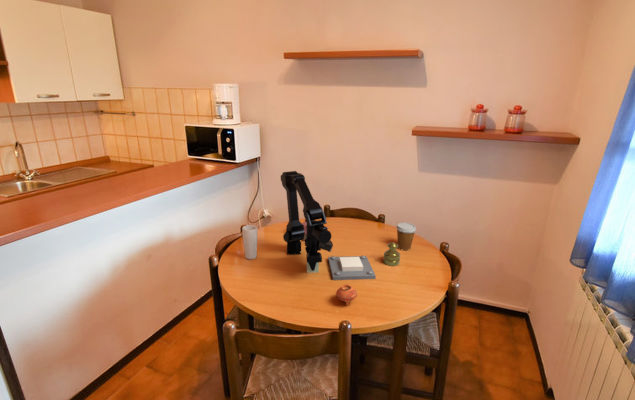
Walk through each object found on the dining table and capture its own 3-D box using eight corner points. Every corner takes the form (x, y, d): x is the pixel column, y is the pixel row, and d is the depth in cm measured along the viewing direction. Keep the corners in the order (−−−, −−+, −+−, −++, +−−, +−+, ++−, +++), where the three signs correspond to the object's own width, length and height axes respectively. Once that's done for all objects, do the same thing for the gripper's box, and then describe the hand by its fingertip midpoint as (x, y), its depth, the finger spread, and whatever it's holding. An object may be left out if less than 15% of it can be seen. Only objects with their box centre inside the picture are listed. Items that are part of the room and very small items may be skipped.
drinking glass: (251, 262, 158) (250, 231, 153) (240, 258, 161) (238, 228, 156) (261, 256, 163) (260, 226, 159) (250, 252, 167) (249, 223, 162)
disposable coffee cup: (410, 253, 169) (413, 231, 166) (391, 249, 174) (394, 226, 170) (415, 246, 177) (418, 224, 173) (397, 242, 182) (399, 221, 178)
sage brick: (307, 272, 150) (307, 262, 148) (306, 267, 154) (306, 257, 153) (318, 272, 150) (318, 262, 149) (317, 266, 155) (317, 256, 153)
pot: (360, 306, 127) (357, 291, 125) (339, 311, 127) (336, 296, 125) (356, 293, 135) (353, 278, 132) (336, 297, 135) (333, 283, 132)
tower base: (333, 280, 144) (333, 272, 143) (328, 259, 161) (328, 252, 160) (375, 278, 146) (376, 271, 145) (366, 258, 163) (366, 252, 162)
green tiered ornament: (399, 267, 156) (401, 247, 153) (383, 265, 157) (384, 245, 154) (399, 259, 163) (401, 240, 160) (383, 258, 164) (385, 238, 161)
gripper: (334, 243, 139) (333, 277, 144) (329, 226, 157) (328, 257, 161) (307, 244, 138) (306, 278, 143) (304, 226, 156) (304, 257, 160)
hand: (312, 267), depth 152 cm, fingers closed on sage brick, 5 cm apart
